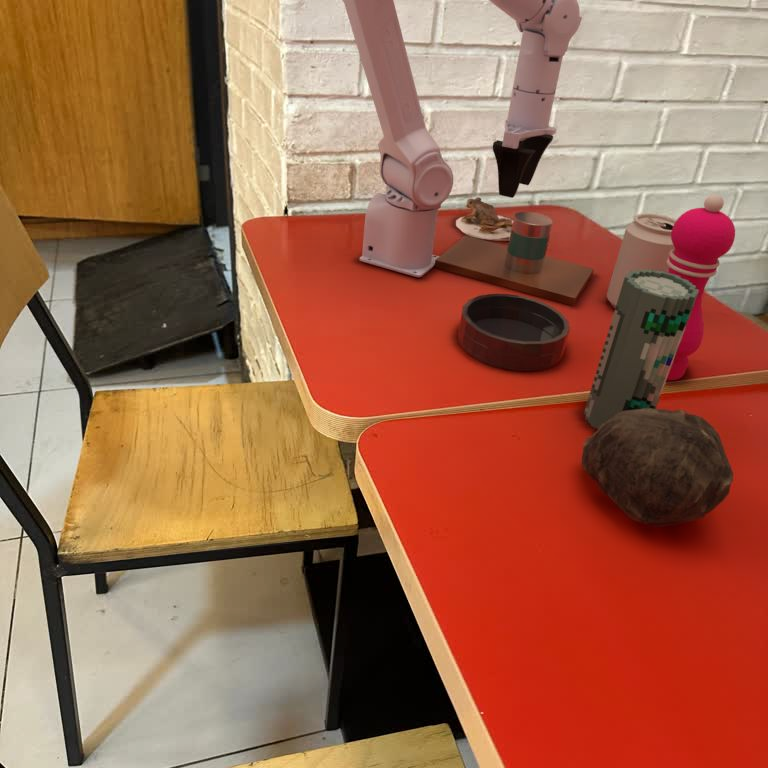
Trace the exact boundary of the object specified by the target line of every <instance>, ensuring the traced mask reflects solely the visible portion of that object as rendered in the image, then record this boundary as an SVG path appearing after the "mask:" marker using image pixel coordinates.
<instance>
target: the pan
mask: <svg viewBox="0 0 768 768" xmlns="http://www.w3.org/2000/svg"><path fill="white" fill-rule="evenodd" d="M570 331H571V327H570V322H569V320H568V319H567V318H566V317H565V315H564V314H563V313H562V312H561V311H559V310H558V309H557V308H555V307H553V306H552V305H550V304H547V303H545V302H543V301H541V300H538V299H535V298H532V297H531V298H530V297H527V296H524V295H516V294H511V293H488V294H481V295H478V296H475V297H472V298H470V299H468V300H467V301H466V302H465V303H464V304H463V306H462V308H461V313H460V321H459V327H458V333H457V340H458V343H459V345H460V347H461V348H462V350H464V352H465V353H467V354H468V355H469V356H471V357H472V358H473V359H475V360H478V361H479V362H481V363H484V364H486V365H488V366H491V367H494V368H498V369H501V370H508V371H514V372H537V371H543V370H547V369H549V368H552V367H554V366H555V365H557V364H559V362H560V361H561V359H562V357H563V354H564V353H565V349H566V346H567V342H568V338H569V335H570Z"/></svg>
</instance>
